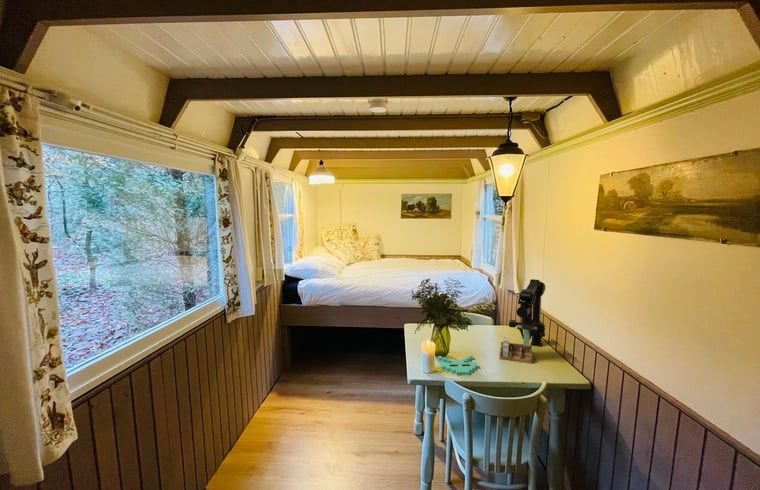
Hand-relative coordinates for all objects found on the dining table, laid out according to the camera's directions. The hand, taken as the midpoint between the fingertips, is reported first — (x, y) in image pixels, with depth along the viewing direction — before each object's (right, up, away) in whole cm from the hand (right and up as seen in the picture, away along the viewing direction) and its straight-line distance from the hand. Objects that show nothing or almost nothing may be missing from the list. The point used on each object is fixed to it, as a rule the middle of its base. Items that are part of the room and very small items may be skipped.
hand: (526, 339), depth 192 cm
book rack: (-5, -11, +3) cm, 13 cm away
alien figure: (-41, -14, -7) cm, 43 cm away
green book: (0, -2, 0) cm, 2 cm away
